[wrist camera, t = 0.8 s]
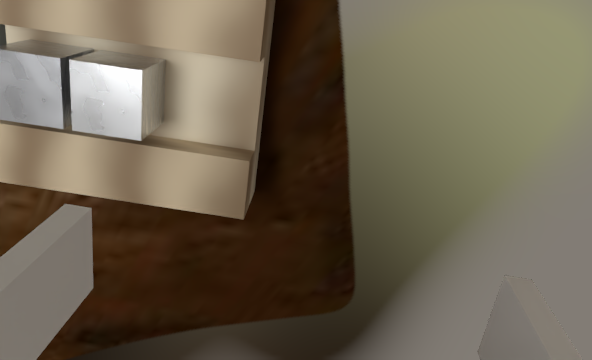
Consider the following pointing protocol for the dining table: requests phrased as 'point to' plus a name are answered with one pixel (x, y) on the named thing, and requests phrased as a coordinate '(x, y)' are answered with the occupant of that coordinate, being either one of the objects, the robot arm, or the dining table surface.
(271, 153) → the dining table surface
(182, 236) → the dining table surface
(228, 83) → the slot board
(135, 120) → the light grey cube
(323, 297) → the dining table surface
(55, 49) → the grey cube block
